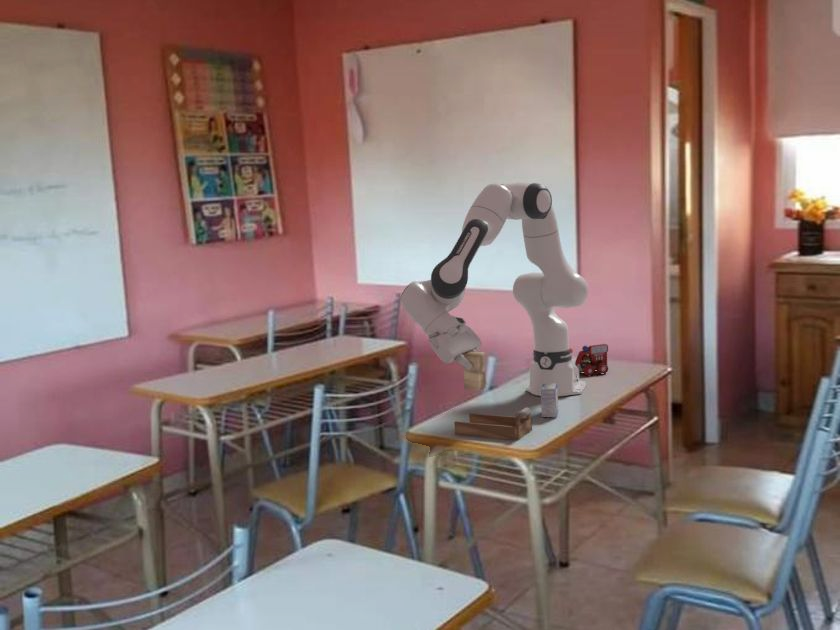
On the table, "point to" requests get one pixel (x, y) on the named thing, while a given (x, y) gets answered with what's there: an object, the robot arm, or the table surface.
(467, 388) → the tan wooden block
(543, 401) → the medicine box
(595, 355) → the toy fire truck
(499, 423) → the wooden drawer with handle
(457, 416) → the table surface
